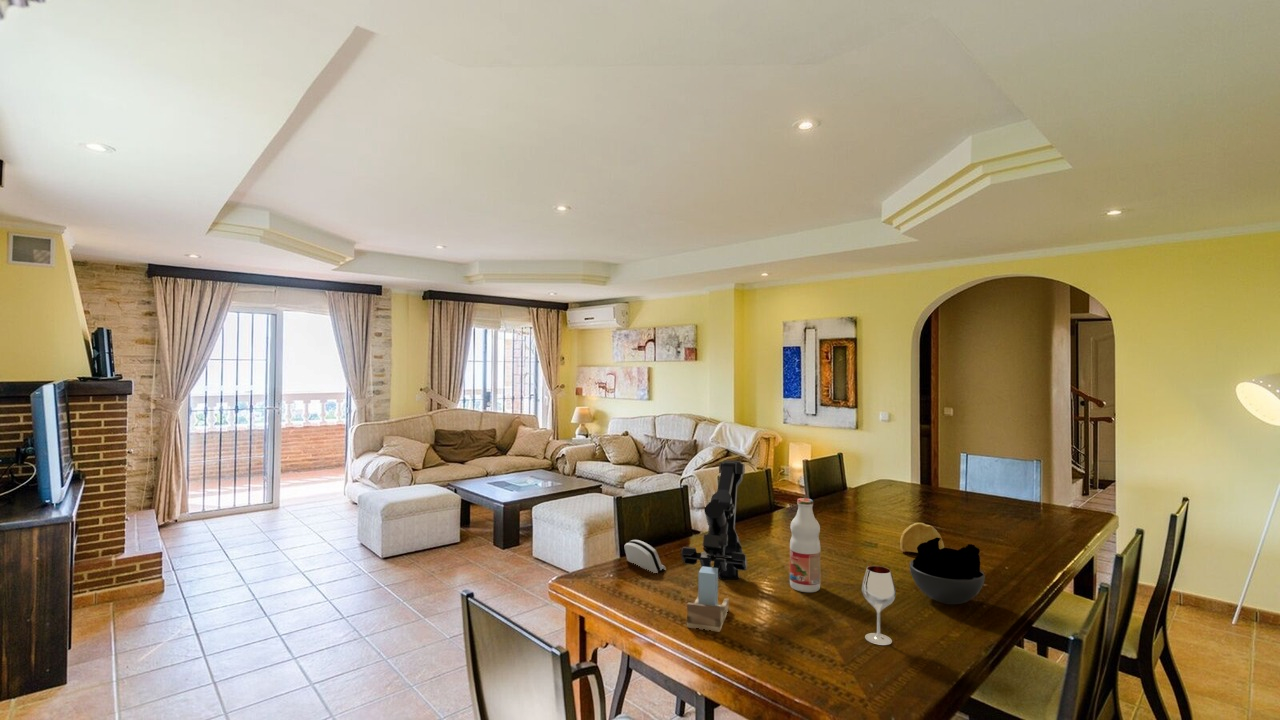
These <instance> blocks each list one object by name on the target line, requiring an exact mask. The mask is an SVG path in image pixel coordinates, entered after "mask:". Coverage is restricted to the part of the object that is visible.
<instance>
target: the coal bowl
mask: <svg viewBox="0 0 1280 720" xmlns="http://www.w3.org/2000/svg"><path fill="white" fill-rule="evenodd" d="M941 538H942V537H941ZM941 538H934V539H932V540H928V542H925V543H921V544H920V545H919V546H918V547H917V550H918V553H916V557H915V558H914V559H911V560H910V561H909V570H910V571H909V572H910V574H911V577H912V580H913V581H914V583H915V585H916V587H918V589H919V590H921V592H922V593H923V594H925V596H927V597H928V598H930V599H932V600H933V601H936V602H938V603H941V604H947V605H959V604H963V603H967V602H969V601H971V600H972V599H974V598H975V597H976V596H977V595H978V594H979V593H980V591H981V589H982V588H983V586H984V582H985V578H986V577H985V575H986V574H985V573H984V571H983V570H981V560H980V558H981V557H980V555H979V554H980V552H981V551H980V548H978V547H976V546H975V544H969V543H968V544H967V545H966V546H963V547H961V548H960V549H954V548H949V547H944V548H942V549H939V541H940V539H941Z"/></svg>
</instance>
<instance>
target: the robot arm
mask: <svg viewBox="0 0 1280 720" xmlns="http://www.w3.org/2000/svg"><path fill="white" fill-rule="evenodd" d="M745 472H746V466H745V463H744V464H743V463H742V460H727V459H726V460H725V459H724V460H723V461H722V462H718V474H720V475H719V481H718V486H717V490H716V492H714V493H713V494H712V495H711V498H710V501H709V502H708V503H707V504H706V505H705V507H704V514H705V519H706V523H707V525H708V530H707V534H703V536H702V537H703V538H702V539H703V540H702V547H703V548H702V550H703V551H702V552H697V549H696V547H690V546H683V547H682V548H681V551H680V556H681V559H682V563H683V564H685V565H691V566H692V565H693V566H695V565H696V564H697V563H698V561H699V562H700V566H701V567H702V566H704V567H712V562H713V568H718V578H719V579H720V580H740V579H741V578H740V575H739V571H747V568H748V560H747V555H746V554H745V552H743V547H742V545H741V542H740V539H739V536H738V534H737V531H736V513H737V499H738V487H739V486H740V484H741V483H742V482H743V476H744V475H745ZM701 567H700V568H701Z"/></svg>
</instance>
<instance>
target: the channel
mask: <svg viewBox="0 0 1280 720" xmlns="http://www.w3.org/2000/svg"><path fill="white" fill-rule="evenodd" d="M729 600H730V598H725V597H724V599H723V601H722V603H721V604H719V603H718V606H712V605H704V604H698V595H697V597H695V600H694V602H687V604H686V627H687V628H689V629H696V628H699V629H698V630H703V629H705V630H704V631H709V630H711V631H710V632H718V633H720V632H721V630H722V628H723V625H724V623H725V620H726V618H727V614H728V613H727V612H729V610H730V609H729V607H730V605H729V603H730V601H729Z"/></svg>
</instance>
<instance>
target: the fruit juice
mask: <svg viewBox="0 0 1280 720" xmlns="http://www.w3.org/2000/svg"><path fill="white" fill-rule="evenodd" d="M796 500H797V501H796V503H797V512H796V513H795V516H794V518H793V519H792V521H790V532H791V537H790V541H789V586H790V587H791V589H793V590H795V591H797V592H802V593H816V592H818V591H819V590H821V541H820V539H819V536H820V532H821V526H820V524H819V522H818V520H817V518H815V515H814V511H813V506H814V500H813V499H811V498H806V497H804V498H803V497H800V498H797V499H796Z"/></svg>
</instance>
